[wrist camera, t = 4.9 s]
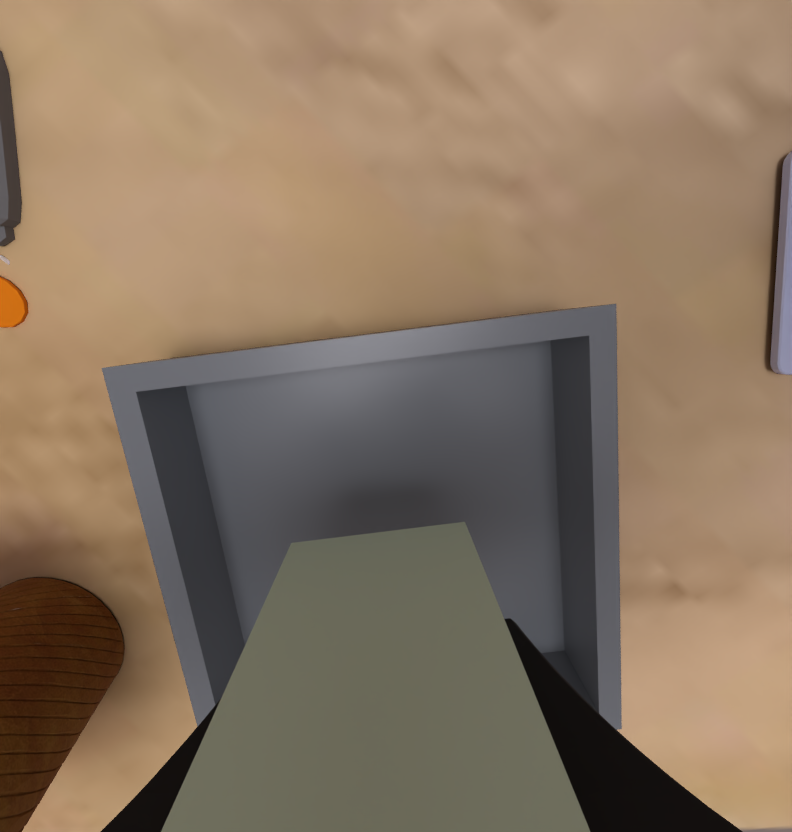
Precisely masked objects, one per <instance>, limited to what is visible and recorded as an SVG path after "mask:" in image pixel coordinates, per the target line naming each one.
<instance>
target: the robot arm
mask: <svg viewBox="0 0 792 832" xmlns="http://www.w3.org/2000/svg"><path fill="white" fill-rule="evenodd" d="M770 364H771V368H772V370H773V371H774V372H776V373H777V374H787V375H791V374H792V151H791V152H790V153H789V154H788V155H787V156H786V158H785V160H784V163H783V170H782V186H781V202H780V218H779V233H778V249H777V265H776V281H775V297H774V313H773V328H772V344H771V360H770ZM504 620H505V622H506V625H507V627H508V629H509V632H510V634H511V637H512V639H513V642H514V644H515V647H516V649H517V652H518V654H519V657H520V659H521V662H522V664H523V667H524V669H525V671H526V674H527V676H528V679H529V681H530V684H531V686H532V689H533V691H534V694H535V696H536V699H537V701H538V704H539V706H540V708H541V711H542V713H543V716H544V718H545V721H546V723H547V726H548V728H549V731H550V733H551V736H552V738H553V741H554V743H555V746H556V748H557V750H558V753H559V755H560V758H561V760H562V763H563V765H564V768H565V770H566V773H567V775H568V778H569V780H570V783H571V785H572V788H573V790H574V792H575V795H576V797H577V800H578V802H579V805H580V807H581V810H582V812H583V815H584V817H585V820H586V822H587V825H588V827H589V830H590V832H742V831H741V830H740V829H738V828H737V827H735V826H734V825H733V824H731V823H730V822H729V821H727V820H726V819H724V818H723V817H722V816H720V815H719V814H718V813H716V812H715V811H713V810H712V809H711V808H709V807H708V806H707V805H705V804H704V803H703V802H702V801H700V800H699V799H698V798H697V797H695V796H694V795H693V794H691V793H690V792H689V791H688V790H686V789H685V788H684V787H683V786H681V785H680V784H679V783H678V782H676V781H675V780H674V779H673V778H671V777H670V776H669V775H668V774H667V773H665V772H664V771H663V770H662V769H661V768H659V767H658V766H657V765H656V764H655V763H653V762H652V761H651V760H650V759H649V758H647V757H646V756H645V755H644V754H643V753H642V752H640V751H639V750H638V749H637V748H636V747H635V746H634V745H632V744H631V743H630V742H629V741H628V740H627V739H626V738H625V737H624V736H622V735H621V734H620V733H619V732H618V731H617V730H616V729H615V728H614V727H613V726H612V725H611V724H610V723H608V722H607V721H606V720H605V719H604V718H603V717H602V716H601V715H600V714H599V713H598V712H597V711H596V710H595V709H594V708H593V707H592V706H591V705H590V704H589V703H588V702H587V701H586V700H585V699H584V698H583V697H582V696H581V695H580V694H579V693H578V692H577V691H576V690H575V689H574V688H573V687H572V686H571V685H570V684H569V683H568V682H567V681H566V680H565V679H564V678H563V677H562V676H561V675H560V674H559V672H558V671H557V670H556V669H555V668H554V667H553V666H552V665H551V664H550V663H549V662H548V660H547V659H546V658H545V657H544V656H543V655H542V654H541V653H540V651H539V650H538V649H537V648H536V647H535V646H534V644H533V643H532V642H531V641H530V640H529V639H528V637H527V636H526V635H525V634H524V632H523V631H522V630H521V629H520V628H519V626H518V625H517V624H516V622H514V621H513V620H512V619H511V618H508V619H504ZM220 700H221V699H220ZM220 700H219V701H218V703H217V704H216V705H215V706H214V708H213V709H212V710H211V711H210V712H209V714H208V715H207V716H206V717H205V718H204V720H203V721H202V722H201V723H200V724H199V726H198V727H197V728H196V729H195V730H194V732H193V733H192V734H191V735H190V736H189V738H188V739H187V740H186V741H185V742H184V743H183V745H182V746H181V747H180V748H179V749H178V750H177V751H176V752H175V754H174V755H173V756H172V757H171V758H170V759H169V760H168V761H167V763H166V764H165V765H164V766H163V767H162V768H161V769H160V770H159V772H158V773H157V774H156V775H155V776H154V777H153V778H152V779H151V781H150V782H149V783H148V784H147V785H146V786H145V787H144V788H143V789H142V790H141V791H140V792H139V793H138V794H137V795H136V797H135V798H134V799H133V800H132V801H131V802H130V803H129V804H128V805H127V806H126V807H125V808H124V809H123V810H122V811H121V812H120V813H119V814H118V815H117V816H116V817H115V818H114V819H113V820H112V821H111V822H110V823H109V824H108V825H107V826H106V827H105V828H104V829H103V830H102V831H101V832H161V831H162V828H163V826H164V824H165V822H166V820H167V817H168V815H169V813H170V811H171V809H172V806H173V804H174V802H175V800H176V797H177V795H178V793H179V791H180V789H181V786H182V784H183V782H184V780H185V777H186V775H187V773H188V771H189V769H190V766H191V764H192V762H193V760H194V758H195V755H196V753H197V751H198V749H199V746H200V744H201V742H202V740H203V738H204V735H205V733H206V731H207V729H208V727H209V724H210V722H211V720H212V718H213V715H214V713H215V711H216V709H217V707H218V704H219V702H220Z"/></svg>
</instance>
